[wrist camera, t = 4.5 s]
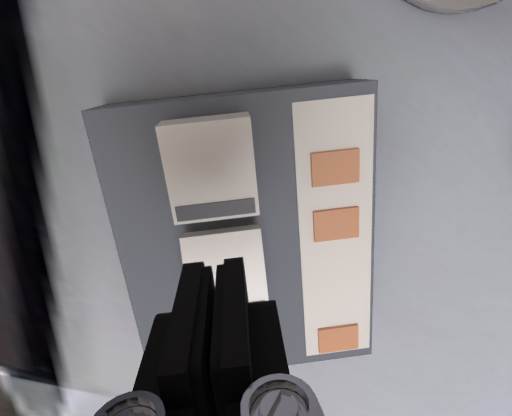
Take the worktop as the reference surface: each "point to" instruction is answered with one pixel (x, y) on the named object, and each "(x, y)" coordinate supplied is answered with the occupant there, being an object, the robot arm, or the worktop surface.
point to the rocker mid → (230, 254)
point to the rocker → (209, 167)
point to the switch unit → (270, 205)
